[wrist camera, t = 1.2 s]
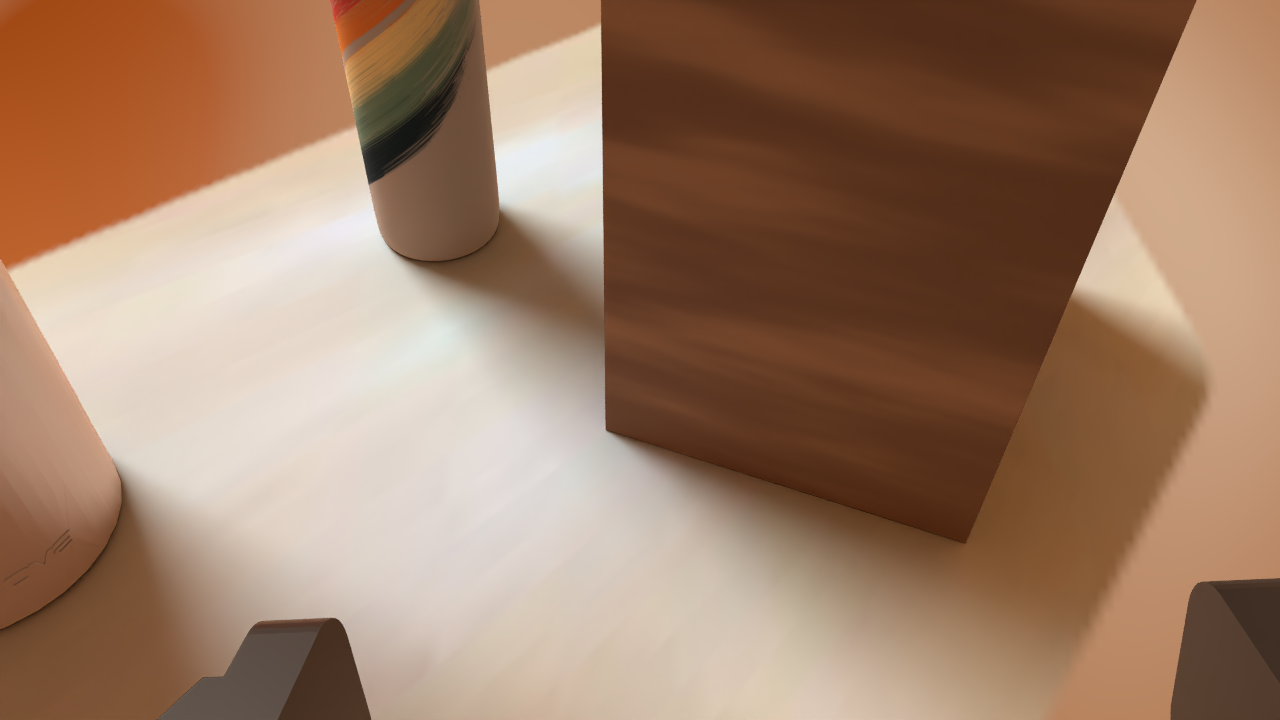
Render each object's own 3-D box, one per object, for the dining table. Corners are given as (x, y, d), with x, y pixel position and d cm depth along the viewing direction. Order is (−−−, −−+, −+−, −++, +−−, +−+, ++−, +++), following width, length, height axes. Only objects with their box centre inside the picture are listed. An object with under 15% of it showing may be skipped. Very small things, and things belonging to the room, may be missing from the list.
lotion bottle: (409, 179, 52) (329, -277, 38) (518, 199, 51) (479, -261, 37) (358, 251, 48) (247, -225, 34) (474, 275, 48) (412, -205, 33)
